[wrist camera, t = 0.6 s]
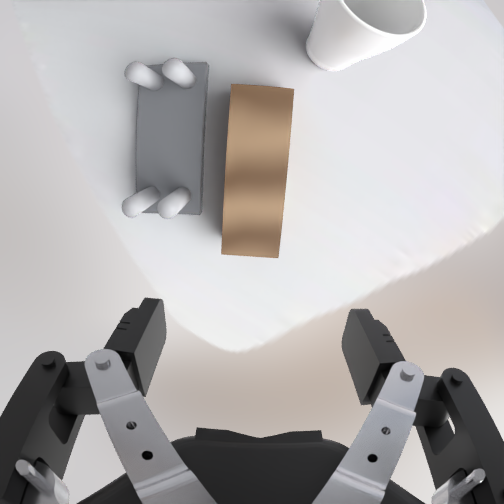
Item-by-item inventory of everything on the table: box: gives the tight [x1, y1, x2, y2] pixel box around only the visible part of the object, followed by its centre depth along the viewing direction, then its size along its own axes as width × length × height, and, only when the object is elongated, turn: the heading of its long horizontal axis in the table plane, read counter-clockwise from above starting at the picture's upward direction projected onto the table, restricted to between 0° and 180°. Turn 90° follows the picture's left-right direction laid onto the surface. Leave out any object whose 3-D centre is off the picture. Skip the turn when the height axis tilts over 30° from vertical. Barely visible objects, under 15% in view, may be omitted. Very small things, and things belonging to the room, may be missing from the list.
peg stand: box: [122, 58, 209, 219], centre depth 26 cm, size 16×7×8 cm, turn 177°
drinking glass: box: [306, 0, 426, 71], centre depth 19 cm, size 7×7×15 cm
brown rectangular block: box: [221, 84, 294, 258], centre depth 29 cm, size 16×6×5 cm, turn 176°
